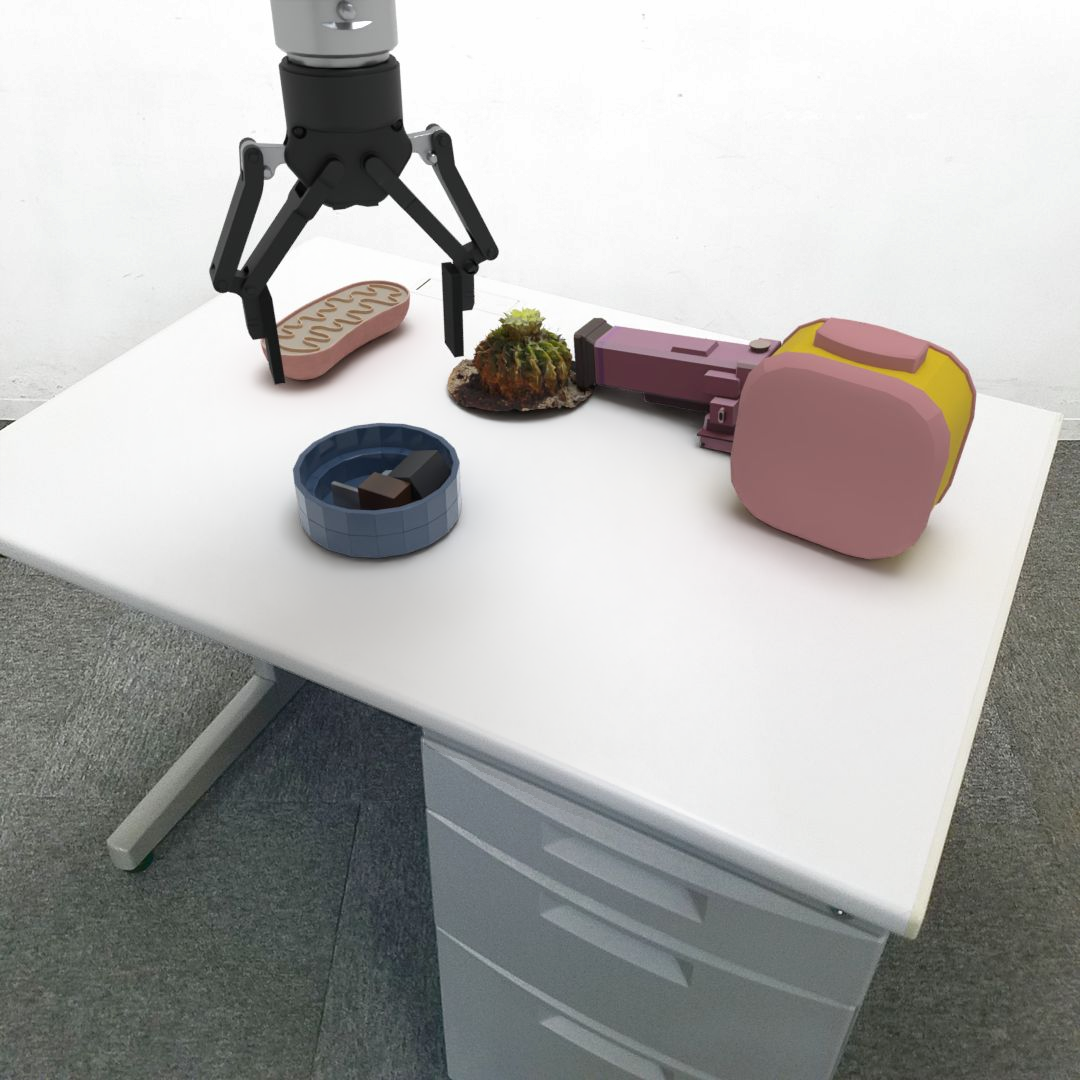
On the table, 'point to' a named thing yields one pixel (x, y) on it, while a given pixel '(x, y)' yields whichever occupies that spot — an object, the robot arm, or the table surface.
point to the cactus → (518, 369)
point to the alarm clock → (851, 435)
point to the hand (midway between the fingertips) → (368, 362)
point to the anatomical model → (338, 326)
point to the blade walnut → (373, 493)
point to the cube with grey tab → (421, 472)
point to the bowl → (351, 464)
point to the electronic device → (672, 371)
